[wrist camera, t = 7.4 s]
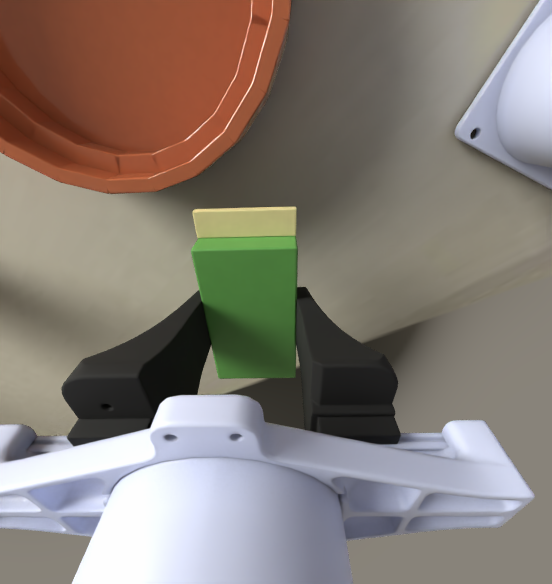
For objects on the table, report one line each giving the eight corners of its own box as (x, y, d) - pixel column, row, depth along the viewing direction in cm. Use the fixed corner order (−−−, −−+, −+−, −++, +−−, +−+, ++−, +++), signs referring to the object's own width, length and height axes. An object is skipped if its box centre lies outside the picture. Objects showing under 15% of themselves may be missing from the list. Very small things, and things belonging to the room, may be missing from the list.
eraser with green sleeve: (294, 198, 13) (298, 218, 10) (293, 356, 18) (295, 391, 16) (200, 201, 13) (183, 221, 10) (228, 357, 18) (221, 392, 16)
